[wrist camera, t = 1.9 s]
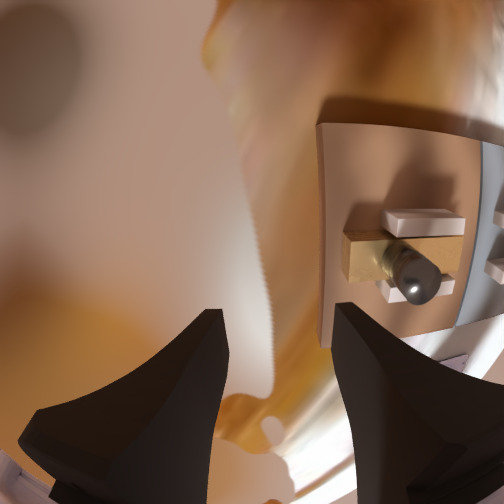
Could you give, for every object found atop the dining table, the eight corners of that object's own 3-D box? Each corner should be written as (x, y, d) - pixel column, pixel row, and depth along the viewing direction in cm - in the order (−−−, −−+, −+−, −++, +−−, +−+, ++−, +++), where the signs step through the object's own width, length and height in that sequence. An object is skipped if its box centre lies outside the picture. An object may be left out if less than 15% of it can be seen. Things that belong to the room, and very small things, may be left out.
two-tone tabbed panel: (317, 332, 20) (325, 371, 16) (315, 126, 15) (331, 117, 11) (497, 302, 19) (520, 324, 15) (519, 153, 14) (552, 160, 10)
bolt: (341, 269, 16) (365, 314, 12) (342, 232, 15) (371, 266, 11) (444, 261, 16) (484, 294, 11) (449, 228, 15) (494, 255, 10)
